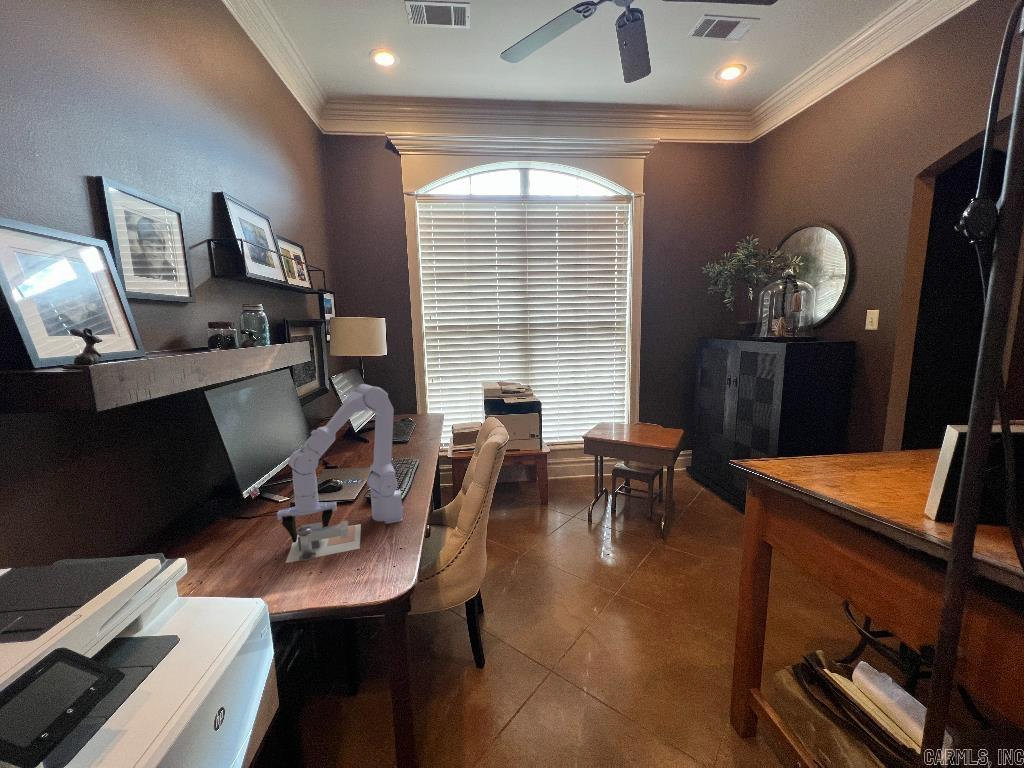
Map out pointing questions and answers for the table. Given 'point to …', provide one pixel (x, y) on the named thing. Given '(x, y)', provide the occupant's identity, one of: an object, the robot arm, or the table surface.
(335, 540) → the board
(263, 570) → the table surface
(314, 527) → the grey rectangular block
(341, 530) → the latch
